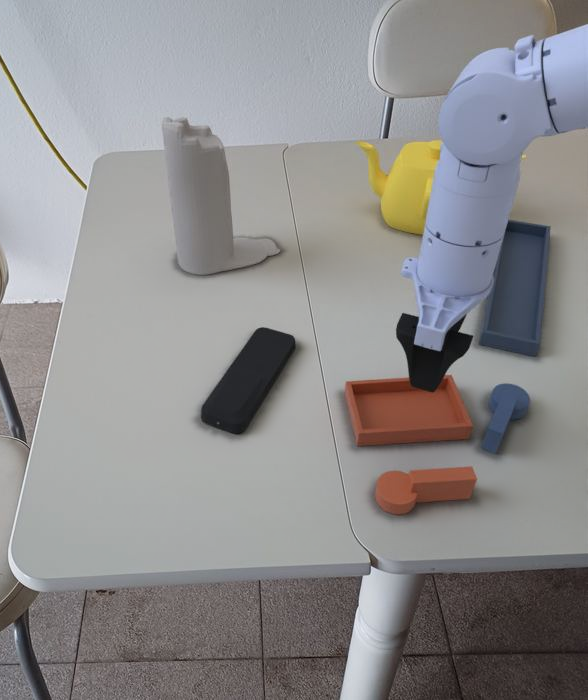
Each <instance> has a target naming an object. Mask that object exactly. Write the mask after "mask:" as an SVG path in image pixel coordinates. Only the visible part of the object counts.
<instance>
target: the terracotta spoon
mask: <svg viewBox="0 0 588 700" xmlns="http://www.w3.org/2000/svg"><path fill="white" fill-rule="evenodd" d="M477 481H478V478H477V475H476V473H475V469H474V467H473V466H458V467H443V468H428V469H427V468H425V469H411V470H409V471H408V474H407V473H406V472H403V471H400V470H389V471H386V472H384V473H382V474H381V475H380V476H379V477H378V479H377V481H376V485H375V492H374V498H375V502H376V504H377V505H378V506H379V508H380V509H382V510H383V511H385V512H386V513H388V514H392V515H398V516H399V515H405V514H407V513H409V512H411V511H412V510H413V509H414V507H415V506H416V504H417V503H431V502H443V501H444V502H445V501H461V500H470V499H471V498H472V495H473V492H474V489H475V486H476V483H477Z"/></svg>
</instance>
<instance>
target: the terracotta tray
mask: <svg viewBox="0 0 588 700" xmlns="http://www.w3.org/2000/svg"><path fill="white" fill-rule="evenodd" d="M344 399H345V402H346V407H347V411H348V415H349V419H350V424H351V427H352V431H353V435H354V440H355V444H356V446H357V447H362V446H363V447H364V446H379V445H391V444H392V445H393V444H394V445H395V444H409V443H410V444H411V443H424V442H425V443H426V442H440V441H455V440H457V441H458V440H470V439H471V434H472V431H473V428H474V424H473V422H472V420H471V418H470V415H469V413H468V410H467V408H466V405H465V403H464V401H463V398H462V396H461V394H460V392H459V389H458V387H457V385H456V382H455V380H454V377H453V375H452V374H445V376H444V378H443V380H442V381H441V383H440V385H439V387H438V388H437V389H436V391H435V392H433V393H432V392H429V391H425V390H422V389H419V388H415V387H412V386H411V385H410V380H409V376H408V377H395V378H394V377H393V378H380V379H379V378H378V379H364V380H363V379H362V380H347V381H345V385H344Z"/></svg>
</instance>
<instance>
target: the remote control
mask: <svg viewBox="0 0 588 700" xmlns="http://www.w3.org/2000/svg"><path fill="white" fill-rule="evenodd" d="M296 348H297V342H296V337H295V335H292V334H289V333H286V332H283V331H280V330H276V329H272V328H269V327H264V326H260V327H258V328H256V329H255V330H254V332H253V333H252V335H251V336H250V337H249V339H248V340H247V342H246V343H245V345H244V346H243V347H242V349H241V350H240V352H239V353H238V355H237V356H236V357H235V359H234V360H233V362H231V364H230V366H229V367H228V369H227V370H226V372H224V374H223V375H222V377H221V378H220V379H219V381H218V383H217V384H216V385H215V387H214V388H213V390H212V391H211V392H210V394H209V396H208V397H207V398H206V400H204V402H203V404H202V406H201V409H200V410H201V411H200V419H201V421H202V422H203V423H204V424H206V425H209V426H212V427H215V428H218V429H220V430H223V431H226V432H228V433H232V434H241V433H243V432H244V431H246V429H247V427H248V426H249V424H250V423H251V421H252V420H253V418H254V416H255V415H256V413H257V411H258V410H259V408H260V407H261V405H262V403H263V402H264V401H265V399H266V398H267V395H268V393H269V392H270V390H271V389H272V387H273V386H274V384H275V383H276V381H277V379H278V378H279V376H280V374H281V373H282V371H283V370H284V368H285V366H286V364H287V363H288V361H289V360H290V358H291V357H292V355H293V353H294V352H295V350H296Z"/></svg>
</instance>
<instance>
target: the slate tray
mask: <svg viewBox="0 0 588 700" xmlns="http://www.w3.org/2000/svg"><path fill="white" fill-rule="evenodd" d="M550 237H551V225H547V224H546V225H545V224H539V223H532V222H527V221H521V220H514V219H508V223H507V227H506V230H505V234H504V237H503V241H502V245H501V248H500V252H499V255H498V259H497V262H496V266H495V267H496V270H495V273H494V276H493V277H494V282H493V286H492V290H491V292H490V294H489V295H488V296H487V297H486V304H485V308H484V314H483V317H482V318H483V319H482V324H481V328H480V334H479V339H478V345H480V346H485V347H489V348H493V349H498V350H502V351H507V352H513V353H516V354H521V355H525V356H530V357H536V355H537V353H538V350H539V347H540V346H541V335H542V325H543V315H544V314H543V313H544V304H545V294H546V293H545V292H546V282H547V271H548V259H549V250H550V249H549V248H550Z"/></svg>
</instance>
